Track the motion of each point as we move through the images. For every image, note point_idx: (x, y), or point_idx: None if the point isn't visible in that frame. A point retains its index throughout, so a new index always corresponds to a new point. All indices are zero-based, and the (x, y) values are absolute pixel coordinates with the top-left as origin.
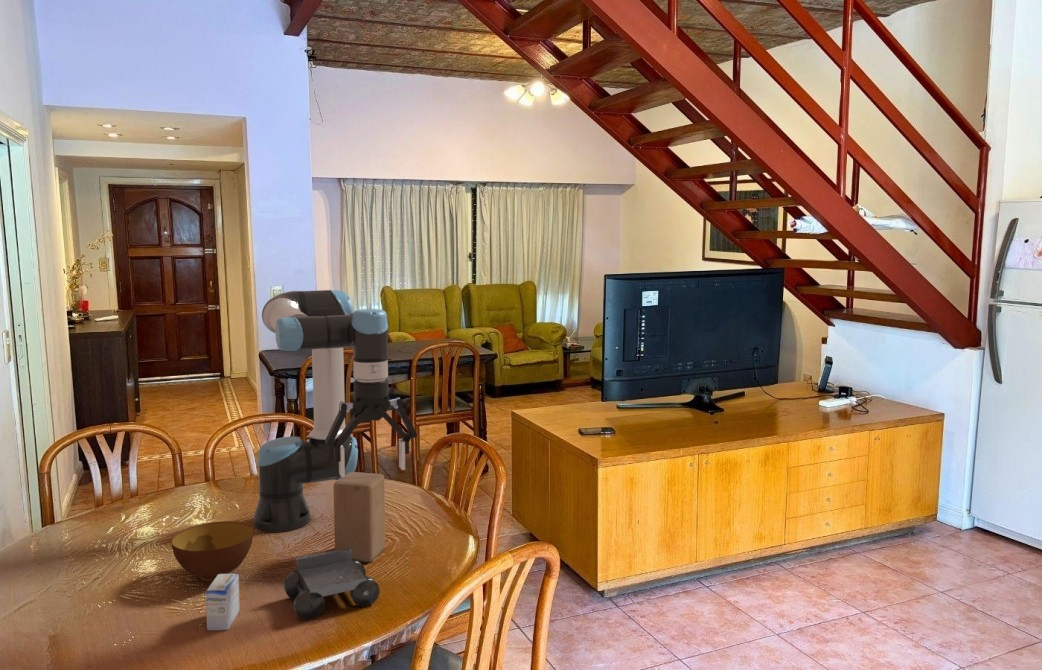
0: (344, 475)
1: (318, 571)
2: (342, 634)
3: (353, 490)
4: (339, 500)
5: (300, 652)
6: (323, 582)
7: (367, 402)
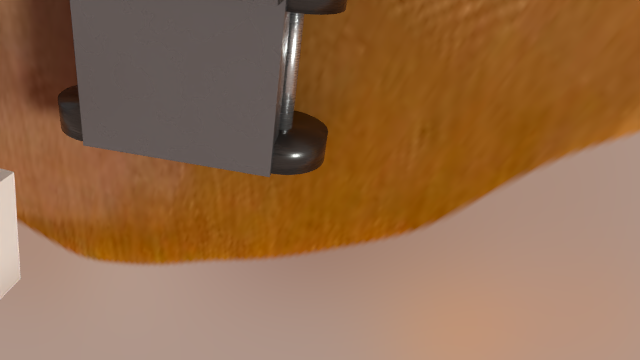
0: (9, 285)
1: (136, 28)
2: (183, 218)
3: None
4: None
5: (80, 227)
6: (134, 121)
7: None
